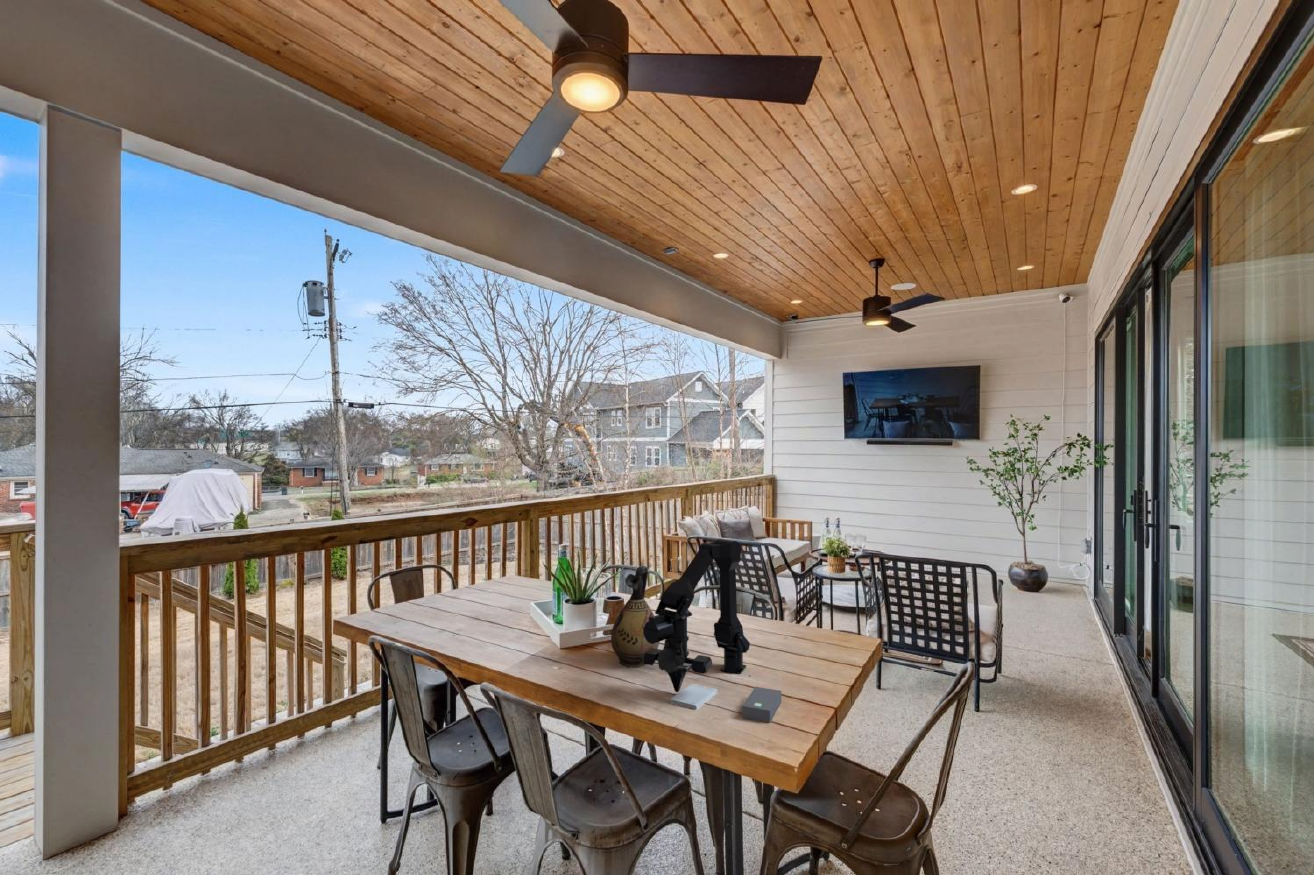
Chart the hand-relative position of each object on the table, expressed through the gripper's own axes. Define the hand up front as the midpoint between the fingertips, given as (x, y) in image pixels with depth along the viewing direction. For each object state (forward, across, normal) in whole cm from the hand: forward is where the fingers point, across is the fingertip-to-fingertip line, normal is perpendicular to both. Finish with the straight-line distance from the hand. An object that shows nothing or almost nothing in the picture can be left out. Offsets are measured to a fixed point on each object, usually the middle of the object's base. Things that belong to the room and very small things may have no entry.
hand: (677, 691), depth 163 cm
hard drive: (+2, +5, 0) cm, 5 cm away
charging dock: (+1, +24, 0) cm, 24 cm away
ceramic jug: (+1, -21, +18) cm, 28 cm away
